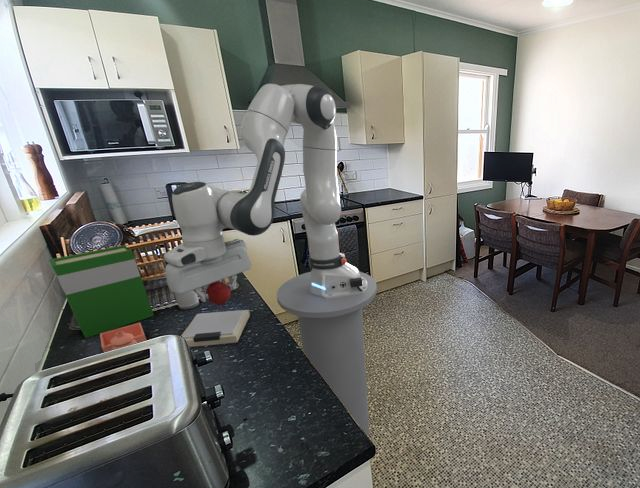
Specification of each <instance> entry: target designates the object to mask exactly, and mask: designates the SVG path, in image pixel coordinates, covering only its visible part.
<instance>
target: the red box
mask: <svg viewBox="0 0 640 488" xmlns="http://www.w3.org/2000/svg"><path fill="white" fill-rule="evenodd" d="M99 339H100V345H101V350H102V352H103V353H104V352H107V351H110V350H114V349H118V348H121V347H125V346H128V345H132V344H135V343H138V342H141V341H145V340H147V337H146V333H145V332H144V329H143V326H142V323H141V321H138V322H135V323H131V324H128V325H124V326H121V327H118V328H115V329H112V330H109V331H106V332H103V333H100V334H99Z"/></svg>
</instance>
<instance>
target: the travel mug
mask: <svg viewBox="0 0 640 488" xmlns="http://www.w3.org/2000/svg"><path fill="white" fill-rule="evenodd" d="M162 259H163V260H164V264H165V267H166V266H167V264H168V262H166V261H165V259H164V256H162ZM174 296H175V299H176V303H177V306H178V308H179V310H183V311H184V310H191V309H195V308H196V307H198V306H199V305H200V301H199V300H200V299H199V297H198V296H199V295H198V294H197V293H195V292H194V291H193V290H192V291H189V292H187V293H184V294H181V295H178V294H176V293H174Z"/></svg>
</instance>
